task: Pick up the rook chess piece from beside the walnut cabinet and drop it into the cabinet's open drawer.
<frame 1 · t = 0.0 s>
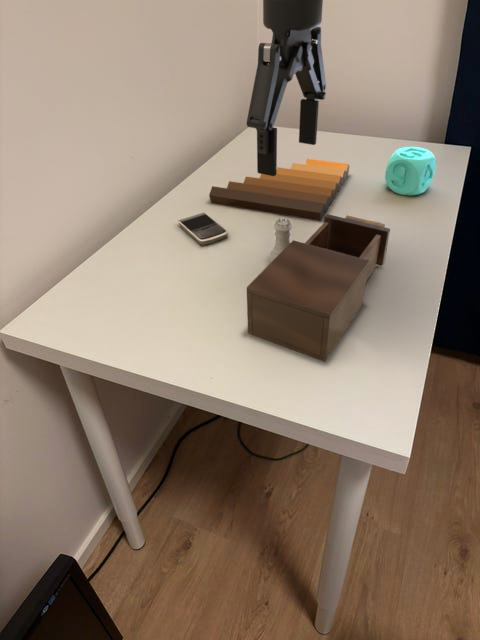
hand: (288, 157, 74), 20 cm above the table, tool pointing down, fingers open, 13 cm apart
rook chess piece: (282, 261, 88), on the table
decorative dice: (406, 188, 110), on the table
cell phone: (202, 232, 98), on the table
drawer: (346, 249, 82), point 4 cm above the table, slide at 11.0 cm
pan flute: (282, 189, 112), on the table
cabinet: (306, 319, 75), on the table
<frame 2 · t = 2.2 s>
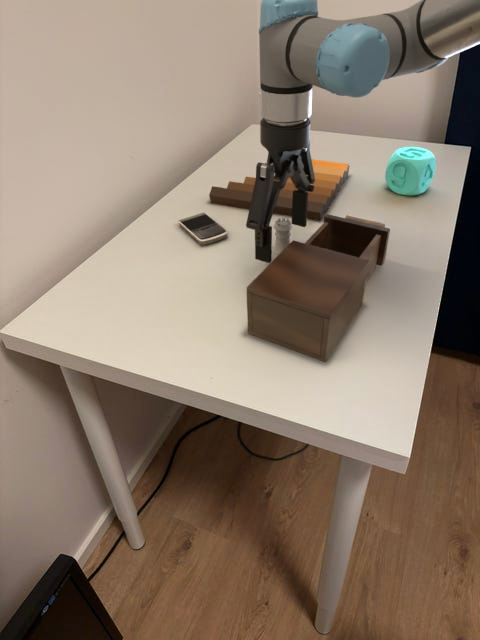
hand: (282, 241, 86), 4 cm above the table, tool pointing down, fingers open, 13 cm apart
nothing on the table moved.
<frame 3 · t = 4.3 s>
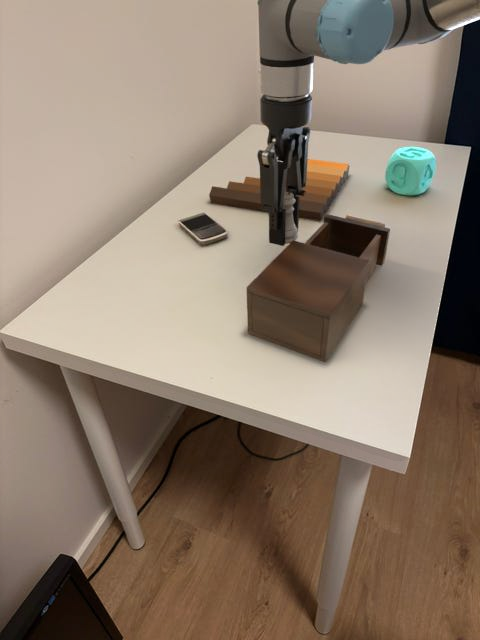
hand: (283, 236, 85), 5 cm above the table, tool pointing down, fingers closed on rook chess piece, 4 cm apart
rook chess piece: (285, 239, 85), point 5 cm above the table, touching gripper
everything else where it was.
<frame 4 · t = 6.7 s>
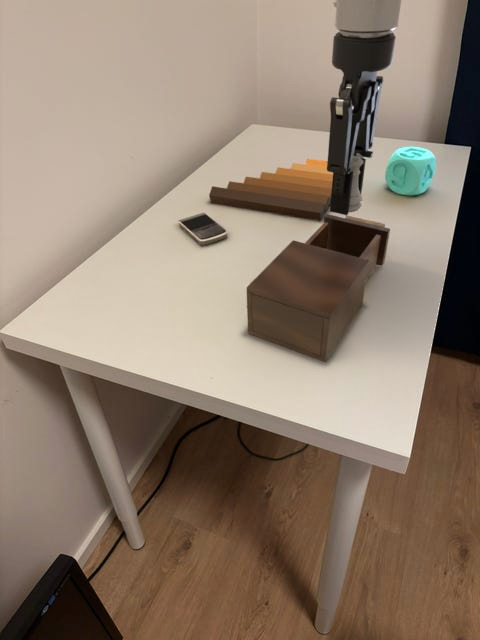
hand: (345, 205, 75), 14 cm above the table, tool pointing down, fingers closed on rook chess piece, 4 cm apart
rook chess piece: (346, 208, 75), point 13 cm above the table, touching gripper
everything else where it was.
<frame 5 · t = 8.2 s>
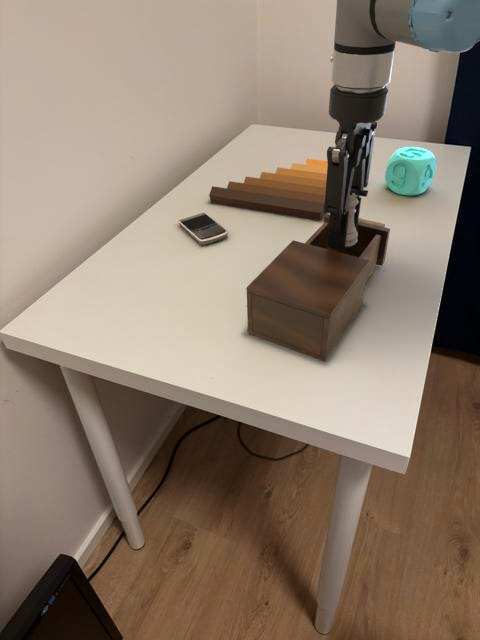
hand: (342, 240, 78), 8 cm above the table, tool pointing down, fingers closed on rook chess piece, 4 cm apart
rook chess piece: (343, 242, 79), point 7 cm above the table, touching gripper
everything else where it was.
when the fingers open (5 cm above the table, at t = 9.3 s): rook chess piece drops 2 cm, resting on drawer.
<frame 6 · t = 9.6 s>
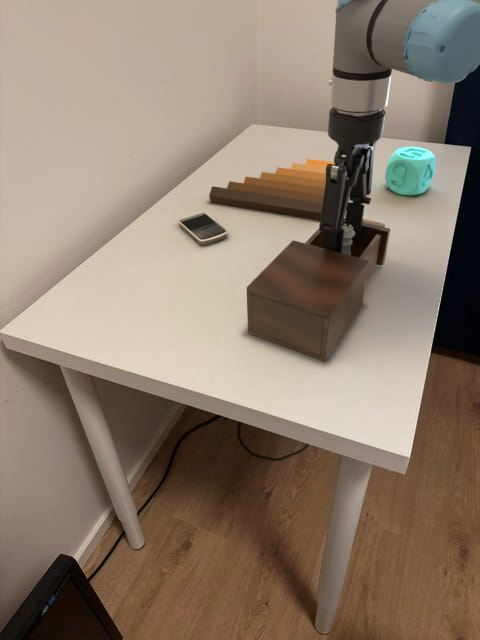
hand: (341, 251, 80), 5 cm above the table, tool pointing down, fingers open, 8 cm apart
rook chess piece: (340, 270, 82), point 2 cm above the table, touching drawer
drawer: (346, 249, 82), point 4 cm above the table, slide at 11.0 cm, touching rook chess piece
everything else where it was.
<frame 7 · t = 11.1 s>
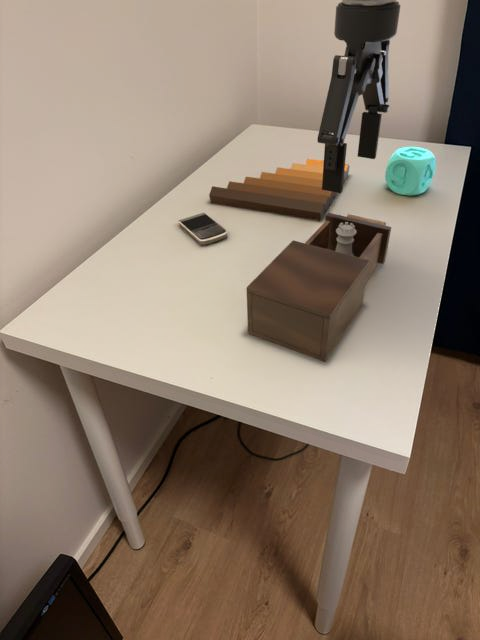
hand: (350, 173, 71), 19 cm above the table, tool pointing down, fingers open, 13 cm apart
drawer: (347, 247, 83), point 4 cm above the table, slide at 11.6 cm, touching rook chess piece
everything else where it was.
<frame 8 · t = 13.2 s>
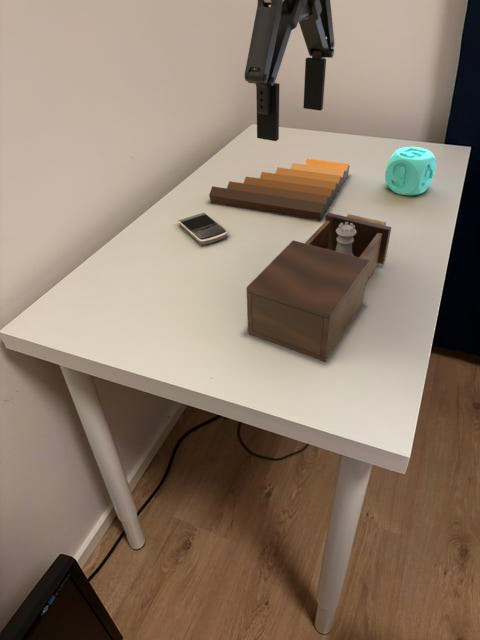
hand: (291, 123, 66), 27 cm above the table, tool pointing down, fingers open, 13 cm apart
nothing on the table moved.
at the end: rook chess piece inside the target area in the drawer (0.6 cm from its centre), point 1.8 cm above the cabinet's base; drawer slide at 11.6 cm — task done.
